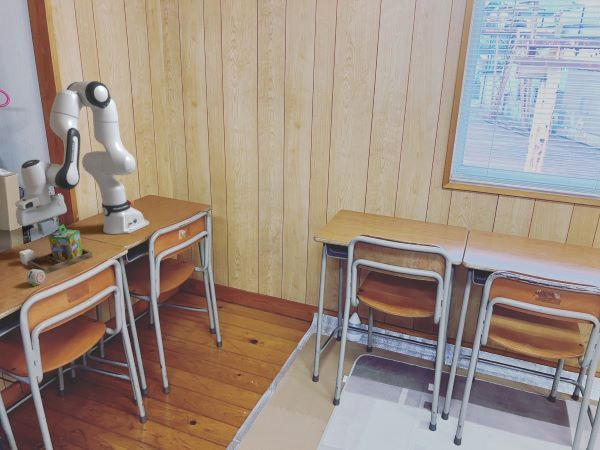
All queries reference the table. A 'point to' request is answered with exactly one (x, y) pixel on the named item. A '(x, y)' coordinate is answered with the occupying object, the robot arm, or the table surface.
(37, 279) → the roller toy
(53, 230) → the slate cube
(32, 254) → the eraser
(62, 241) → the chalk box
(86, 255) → the divider frame
